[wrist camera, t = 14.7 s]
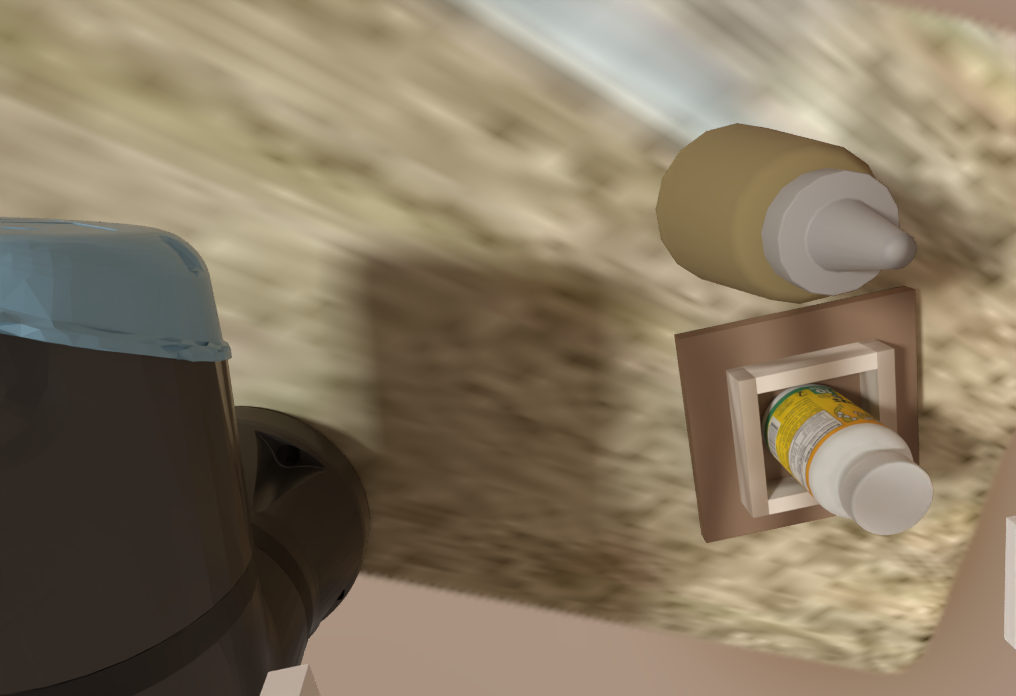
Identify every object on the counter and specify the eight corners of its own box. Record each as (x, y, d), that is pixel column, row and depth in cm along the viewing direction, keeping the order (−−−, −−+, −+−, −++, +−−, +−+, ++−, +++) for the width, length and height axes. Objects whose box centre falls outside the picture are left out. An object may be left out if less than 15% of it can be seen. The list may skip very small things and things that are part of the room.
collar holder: (701, 534, 46) (717, 561, 43) (674, 334, 42) (689, 349, 39) (910, 490, 46) (940, 514, 43) (904, 285, 41) (936, 297, 39)
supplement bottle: (741, 425, 42) (814, 503, 33) (807, 362, 41) (901, 425, 32) (798, 478, 44) (884, 567, 34) (863, 418, 43) (970, 494, 33)
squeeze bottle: (798, 232, 40) (1046, 308, 23) (669, 292, 41) (816, 409, 24) (753, 98, 38) (992, 70, 21) (617, 164, 38) (738, 189, 21)
